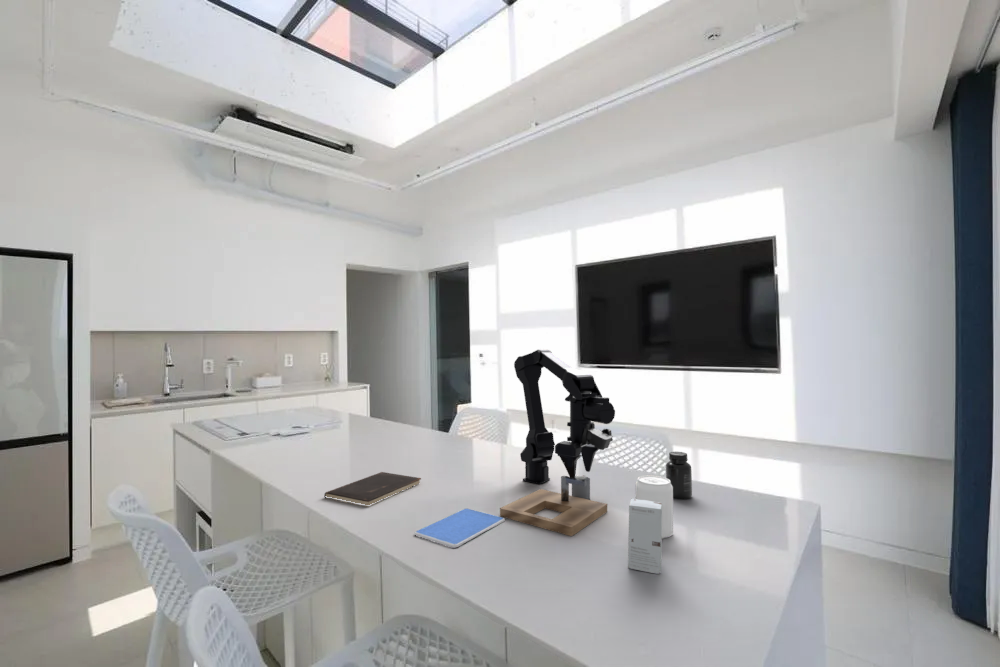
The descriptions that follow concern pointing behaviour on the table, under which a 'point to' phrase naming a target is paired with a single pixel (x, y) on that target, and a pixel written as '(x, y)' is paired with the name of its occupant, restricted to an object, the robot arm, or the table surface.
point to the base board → (568, 522)
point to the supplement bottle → (679, 475)
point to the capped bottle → (581, 488)
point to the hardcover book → (373, 488)
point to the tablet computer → (459, 527)
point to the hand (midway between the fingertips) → (580, 475)
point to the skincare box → (645, 536)
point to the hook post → (565, 486)
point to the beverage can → (658, 498)
